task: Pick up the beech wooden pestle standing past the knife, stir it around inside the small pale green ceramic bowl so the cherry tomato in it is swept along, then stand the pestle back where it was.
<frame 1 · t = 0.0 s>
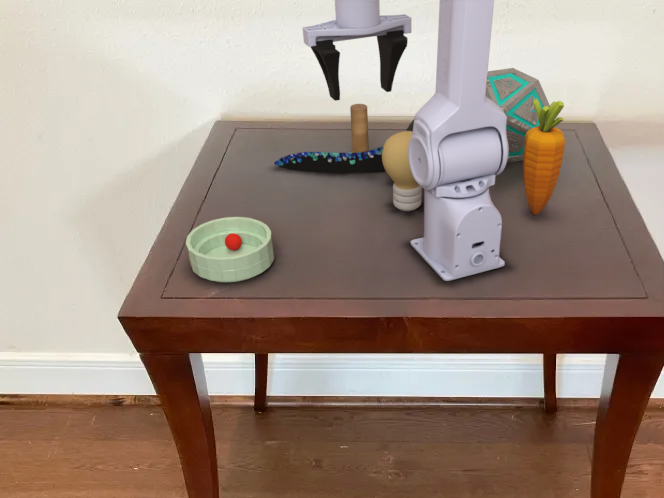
hand: (360, 93, 101), 10 cm above the table, tool pointing down, fingers open, 7 cm apart
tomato: (233, 241, 87), point 1 cm above the table, touching bowl
bowl: (233, 263, 86), on the table
pestle: (361, 160, 108), on the table
sculpture: (509, 119, 119), on the table, touching smartphone
knife: (377, 178, 104), on the table
carrot: (535, 216, 95), on the table
light bulb: (407, 208, 97), on the table
smartphone: (450, 154, 102), point 3 cm above the table, touching sculpture
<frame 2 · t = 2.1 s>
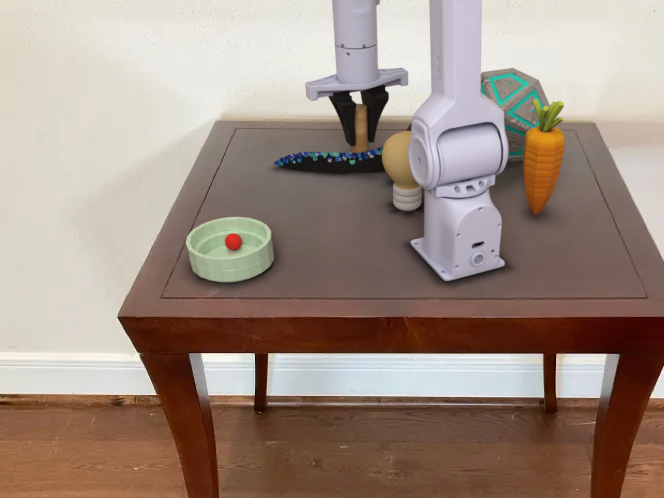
hand: (360, 141, 106), 3 cm above the table, tool pointing down, fingers closed on pestle, 2 cm apart
pestle: (360, 160, 108), on the table, touching gripper
everything else where it was.
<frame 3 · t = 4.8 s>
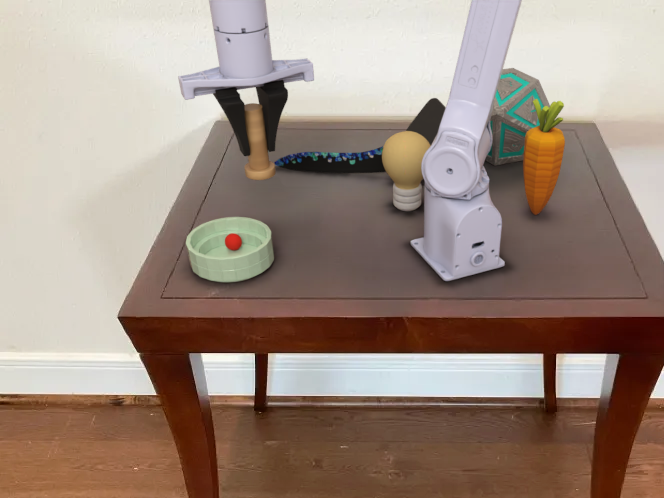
hand: (257, 150, 85), 10 cm above the table, tool pointing down, fingers closed on pestle, 2 cm apart
pestle: (260, 173, 87), point 8 cm above the table, touching gripper
everything else where it was.
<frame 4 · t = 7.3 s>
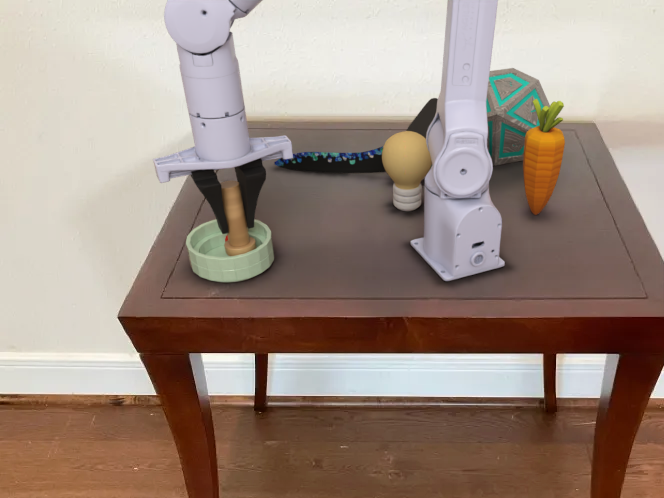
hand: (236, 227, 84), 4 cm above the table, tool pointing down, fingers closed on pestle, 2 cm apart
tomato: (233, 240, 87), point 1 cm above the table, tilted 13°, touching bowl, pestle
pestle: (241, 250, 85), point 2 cm above the table, tilted 6°, touching gripper, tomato
everything else where it was.
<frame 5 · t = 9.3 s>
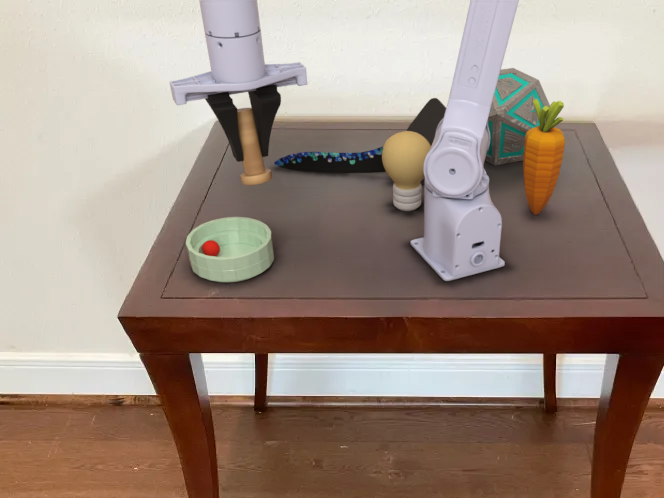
hand: (251, 155, 84), 10 cm above the table, tool pointing down, fingers closed on pestle, 2 cm apart
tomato: (211, 248, 86), point 1 cm above the table, tilted 129°, touching bowl
pestle: (257, 181, 85), point 8 cm above the table, tilted 13°, touching gripper
everything else where it was.
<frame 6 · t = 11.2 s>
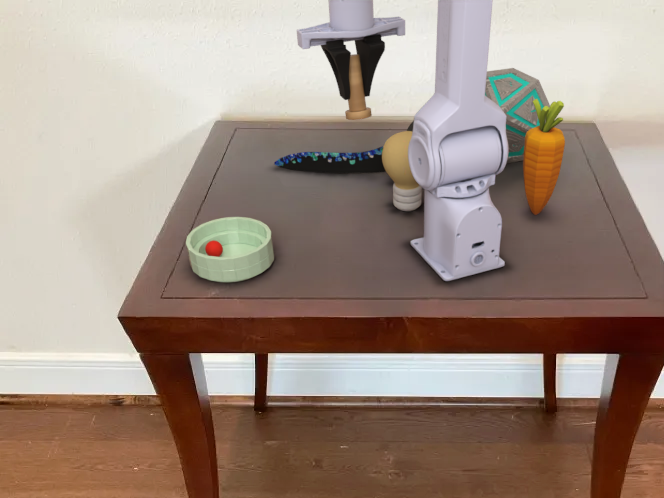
hand: (355, 95, 101), 10 cm above the table, tool pointing down, fingers closed on pestle, 2 cm apart
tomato: (214, 249, 85), point 1 cm above the table, tilted 114°, touching bowl
pestle: (358, 117, 102), point 7 cm above the table, tilted 13°, touching gripper
everything else where it was.
when the fingers open (3 cm above the table, at t = 13.1 s): pestle stays where it is, on the table.
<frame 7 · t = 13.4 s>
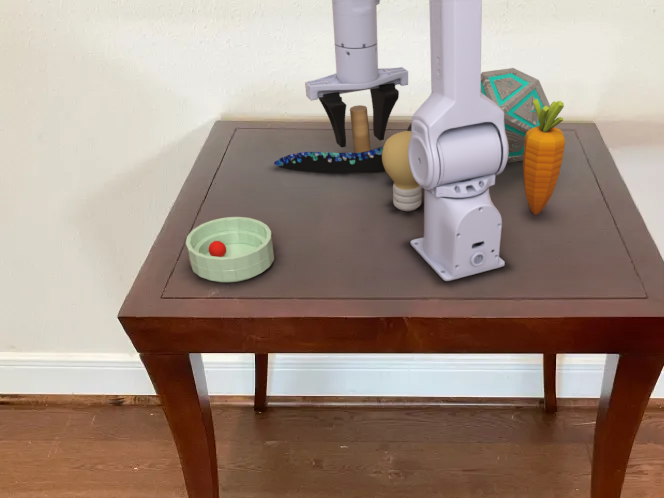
hand: (360, 141, 106), 3 cm above the table, tool pointing down, fingers open, 5 cm apart
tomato: (217, 249, 85), point 1 cm above the table, tilted 95°, touching bowl
pestle: (363, 162, 107), on the table
everything else where it was.
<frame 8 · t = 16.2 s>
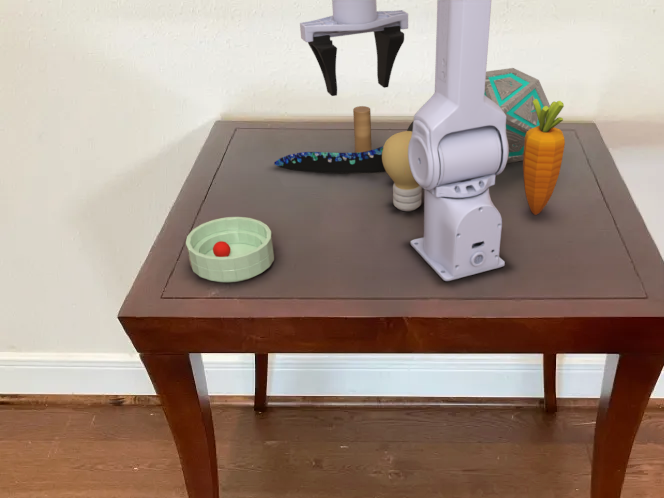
hand: (358, 89, 101), 10 cm above the table, tool pointing down, fingers open, 7 cm apart
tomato: (221, 250, 85), point 1 cm above the table, tilted 70°, touching bowl
everything else where it was.
at the end: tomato moved 2.1 cm from its start; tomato inside the target area in the bowl (1.3 cm from its centre), point 1.5 cm above the bowl's base; pestle 1.1 cm from the target spot, on the table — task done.
